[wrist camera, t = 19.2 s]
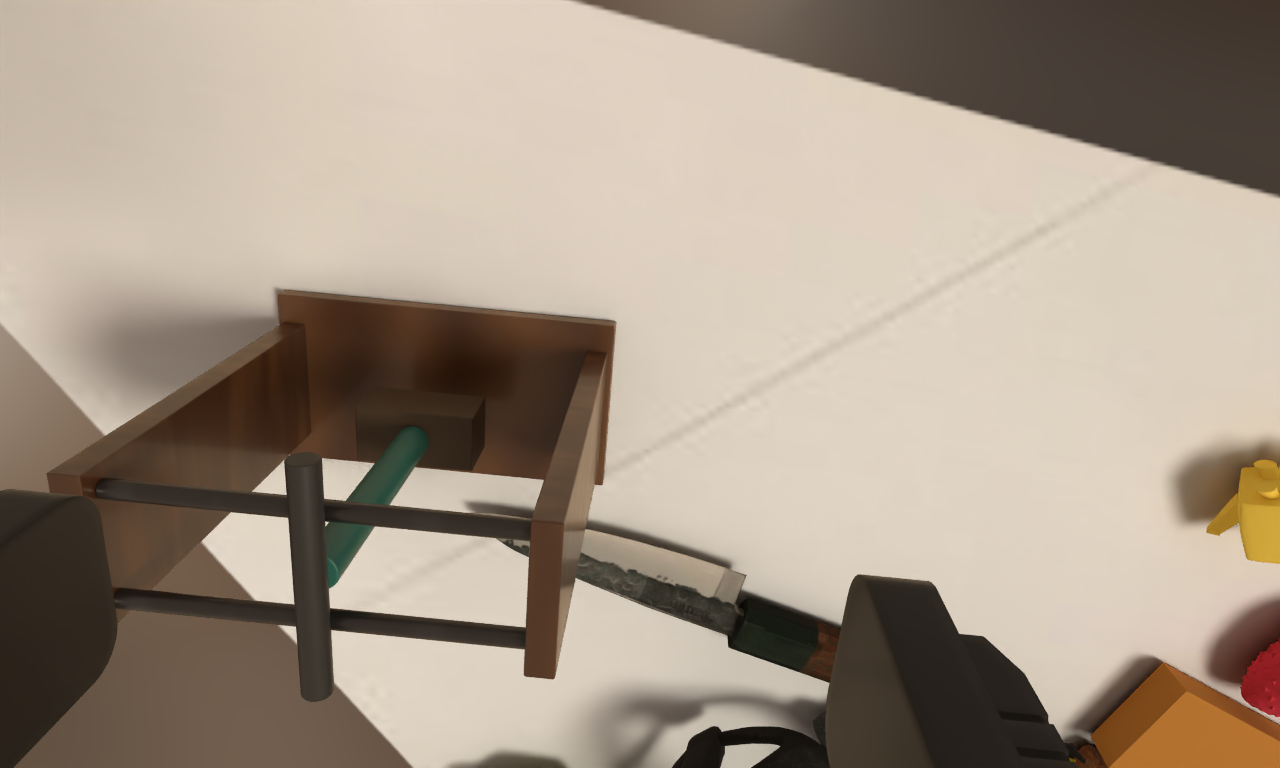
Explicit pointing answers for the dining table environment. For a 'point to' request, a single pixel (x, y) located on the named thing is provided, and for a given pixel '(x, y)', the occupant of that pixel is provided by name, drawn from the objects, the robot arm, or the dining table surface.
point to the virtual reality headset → (792, 764)
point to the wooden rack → (325, 424)
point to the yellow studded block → (1255, 512)
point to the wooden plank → (1182, 729)
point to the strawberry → (1264, 681)
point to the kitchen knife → (702, 600)
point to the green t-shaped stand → (366, 501)
